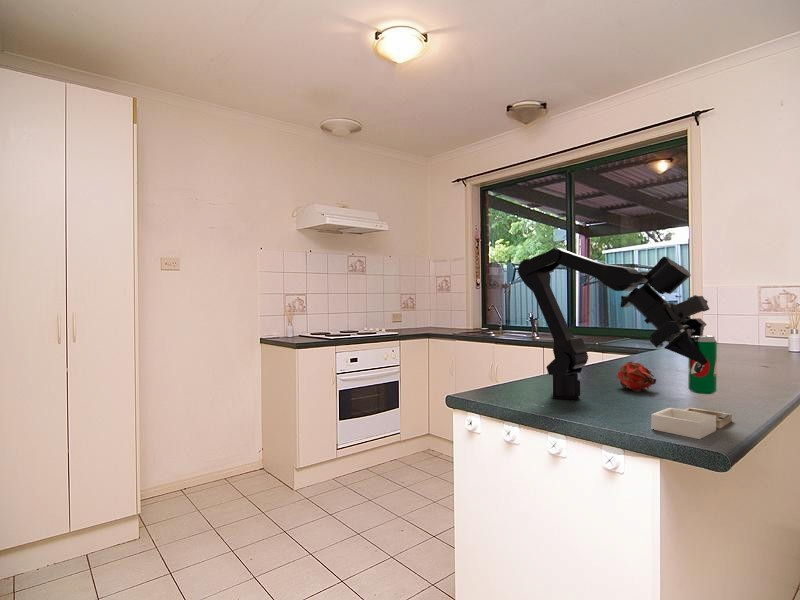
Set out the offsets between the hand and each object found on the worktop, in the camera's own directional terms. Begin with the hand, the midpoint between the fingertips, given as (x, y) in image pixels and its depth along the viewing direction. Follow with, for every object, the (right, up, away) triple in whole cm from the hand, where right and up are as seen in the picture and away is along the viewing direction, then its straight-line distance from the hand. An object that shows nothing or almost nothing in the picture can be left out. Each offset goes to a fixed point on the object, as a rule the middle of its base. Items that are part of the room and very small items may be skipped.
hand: (710, 361), depth 98 cm
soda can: (-1, -7, +1) cm, 7 cm away
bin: (-9, -13, -5) cm, 16 cm away
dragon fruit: (+2, -13, +34) cm, 36 cm away
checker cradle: (-1, -13, +1) cm, 13 cm away
